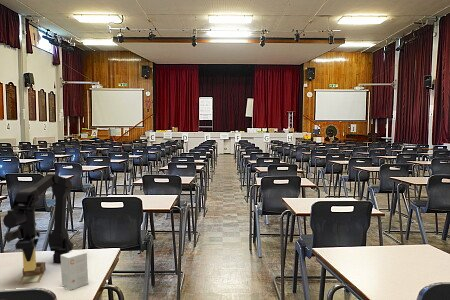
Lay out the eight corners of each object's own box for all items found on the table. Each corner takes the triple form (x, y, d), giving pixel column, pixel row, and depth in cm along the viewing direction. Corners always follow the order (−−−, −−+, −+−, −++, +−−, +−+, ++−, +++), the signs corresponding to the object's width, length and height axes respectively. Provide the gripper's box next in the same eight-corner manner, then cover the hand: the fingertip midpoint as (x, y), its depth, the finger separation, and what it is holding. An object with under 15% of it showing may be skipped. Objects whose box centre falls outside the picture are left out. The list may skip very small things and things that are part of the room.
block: (36, 266, 170) (35, 245, 170) (34, 270, 166) (33, 248, 166) (25, 268, 169) (24, 246, 169) (23, 271, 165) (22, 249, 165)
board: (46, 270, 182) (45, 267, 182) (39, 284, 165) (39, 281, 165) (26, 272, 180) (26, 269, 180) (17, 287, 163) (17, 283, 163)
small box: (80, 280, 169) (78, 249, 168) (88, 284, 165) (87, 252, 164) (61, 286, 163) (59, 254, 162) (69, 290, 159) (68, 257, 158)
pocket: (45, 268, 182) (45, 261, 181) (42, 274, 174) (42, 267, 174) (26, 270, 179) (26, 263, 179) (22, 276, 172) (22, 269, 172)
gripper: (11, 218, 173) (13, 254, 174) (-1, 229, 155) (1, 269, 157) (39, 216, 176) (41, 251, 177) (31, 226, 158) (33, 266, 159)
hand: (29, 259), depth 168 cm, fingers closed on block, 4 cm apart
